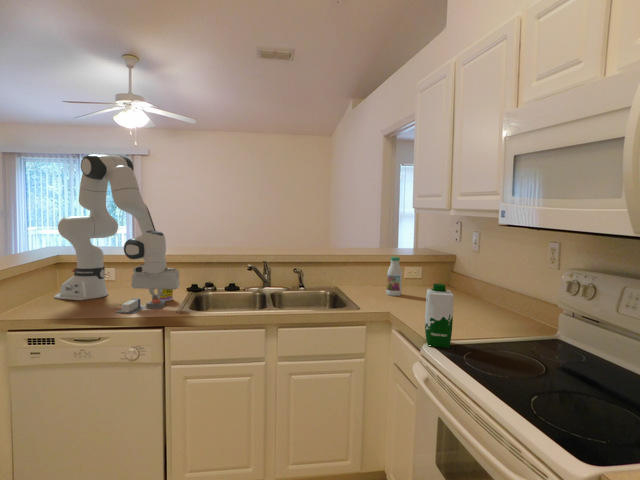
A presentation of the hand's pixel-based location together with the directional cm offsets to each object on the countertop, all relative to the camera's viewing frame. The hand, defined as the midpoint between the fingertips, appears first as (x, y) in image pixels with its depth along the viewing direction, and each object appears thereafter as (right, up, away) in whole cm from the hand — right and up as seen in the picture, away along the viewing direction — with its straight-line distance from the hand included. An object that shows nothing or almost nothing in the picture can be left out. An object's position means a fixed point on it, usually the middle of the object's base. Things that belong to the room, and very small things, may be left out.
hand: (156, 298), depth 173 cm
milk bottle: (+112, -3, +34) cm, 117 cm away
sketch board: (-8, -4, -5) cm, 11 cm away
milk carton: (+113, -10, -40) cm, 120 cm away
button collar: (0, -4, 0) cm, 4 cm away
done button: (0, -3, 0) cm, 3 cm away
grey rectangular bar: (-8, -4, -6) cm, 11 cm away
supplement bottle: (-1, -3, +12) cm, 13 cm away
